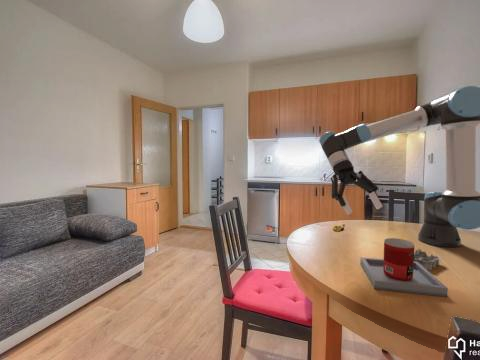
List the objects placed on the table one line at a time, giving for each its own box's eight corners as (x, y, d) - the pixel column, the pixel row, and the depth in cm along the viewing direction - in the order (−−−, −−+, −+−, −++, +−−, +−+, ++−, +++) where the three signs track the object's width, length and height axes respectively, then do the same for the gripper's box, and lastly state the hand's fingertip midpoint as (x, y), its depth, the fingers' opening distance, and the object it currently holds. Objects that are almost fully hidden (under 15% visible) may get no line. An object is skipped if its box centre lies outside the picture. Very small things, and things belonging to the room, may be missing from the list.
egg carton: (418, 258, 94) (419, 248, 93) (442, 265, 87) (443, 254, 87) (404, 264, 88) (405, 253, 88) (429, 272, 82) (429, 260, 81)
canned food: (413, 283, 72) (415, 247, 71) (382, 277, 76) (383, 243, 75) (412, 273, 78) (413, 240, 78) (383, 268, 83) (384, 236, 82)
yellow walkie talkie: (331, 227, 131) (340, 222, 143) (331, 231, 131) (340, 225, 143) (340, 229, 128) (348, 223, 140) (340, 232, 128) (348, 226, 140)
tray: (417, 268, 84) (417, 261, 84) (447, 297, 66) (447, 288, 66) (360, 263, 88) (360, 257, 88) (374, 289, 71) (374, 280, 71)
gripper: (360, 166, 107) (385, 209, 98) (310, 172, 101) (331, 219, 91) (371, 156, 101) (398, 201, 91) (318, 162, 95) (341, 211, 85)
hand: (365, 210), depth 91 cm, fingers open, 13 cm apart
